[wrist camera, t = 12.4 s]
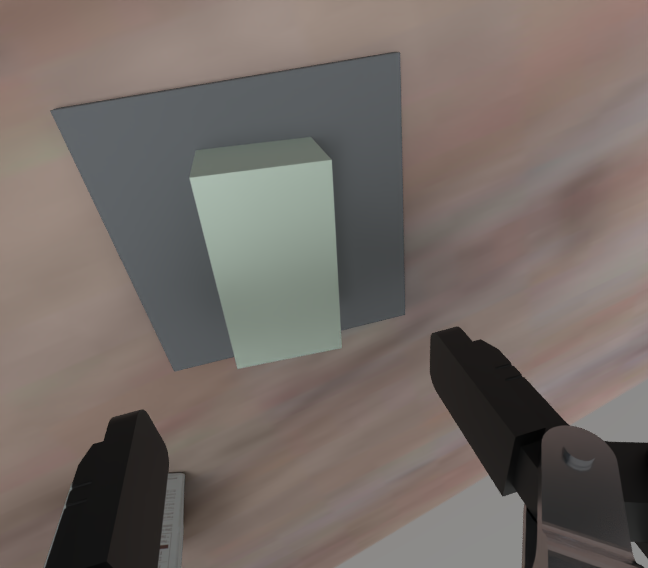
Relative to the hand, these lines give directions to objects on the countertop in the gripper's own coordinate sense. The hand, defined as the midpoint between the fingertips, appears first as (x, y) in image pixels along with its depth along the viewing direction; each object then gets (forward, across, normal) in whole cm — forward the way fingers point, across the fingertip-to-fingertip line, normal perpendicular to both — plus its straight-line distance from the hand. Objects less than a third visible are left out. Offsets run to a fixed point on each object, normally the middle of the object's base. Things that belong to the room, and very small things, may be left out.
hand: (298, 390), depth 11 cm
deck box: (+10, 0, 0) cm, 10 cm away
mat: (+11, 0, 0) cm, 11 cm away
